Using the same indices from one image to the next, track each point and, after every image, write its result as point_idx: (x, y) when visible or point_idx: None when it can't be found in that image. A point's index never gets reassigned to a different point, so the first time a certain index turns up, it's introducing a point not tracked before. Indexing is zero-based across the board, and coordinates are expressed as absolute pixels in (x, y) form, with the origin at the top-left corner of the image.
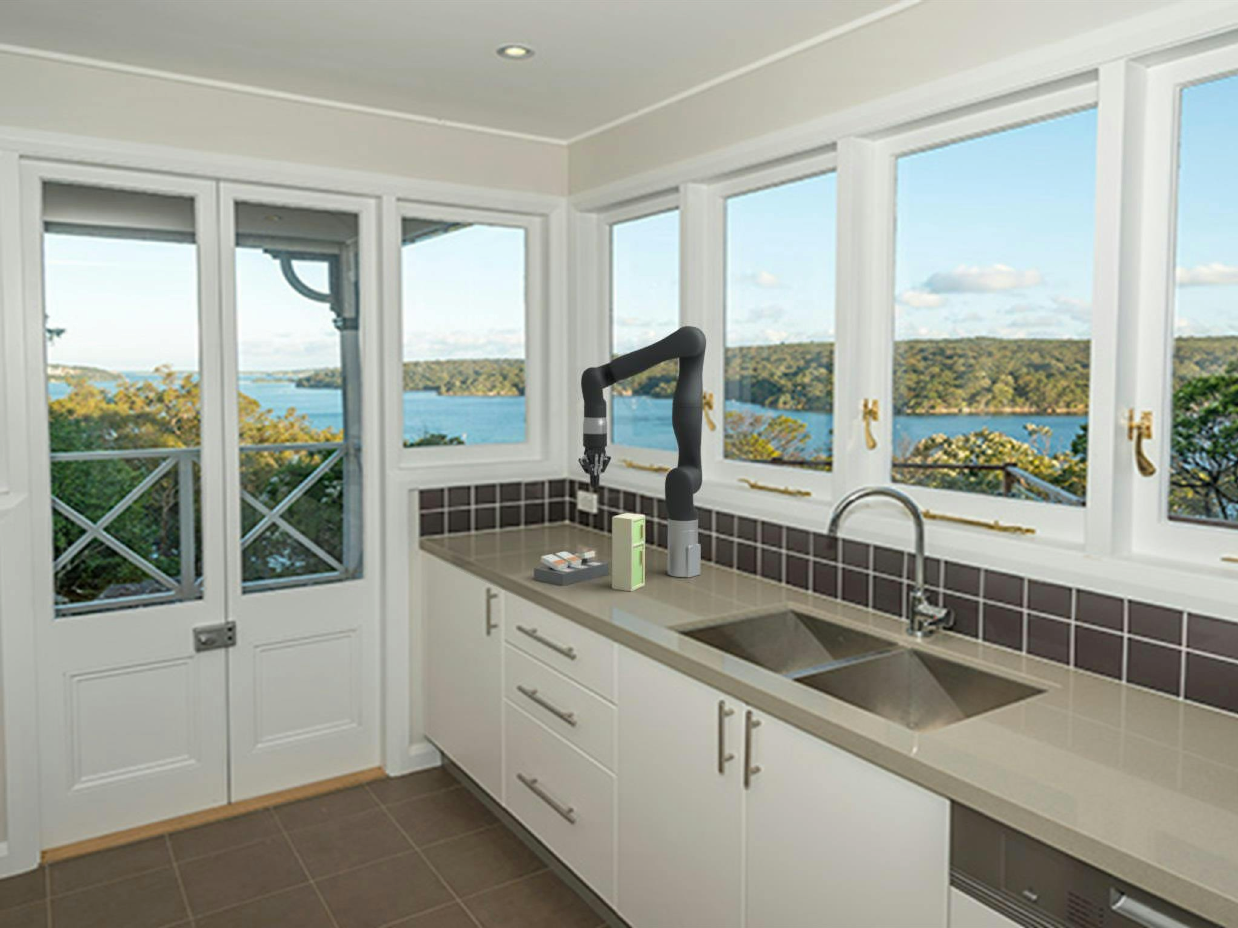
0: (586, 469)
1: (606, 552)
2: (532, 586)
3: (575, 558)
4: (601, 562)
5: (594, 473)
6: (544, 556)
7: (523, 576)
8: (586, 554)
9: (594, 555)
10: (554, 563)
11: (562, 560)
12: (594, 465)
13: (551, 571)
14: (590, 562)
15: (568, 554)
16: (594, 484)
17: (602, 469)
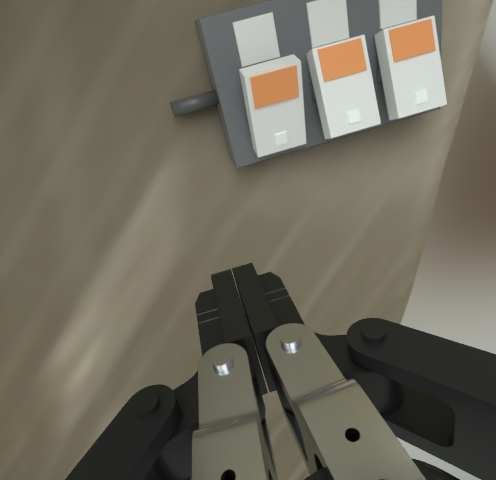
0: (405, 411)
1: (33, 320)
2: (477, 24)
3: (333, 62)
4: (216, 49)
5: (315, 337)
6: (437, 101)
7: (410, 158)
8: (288, 61)
9: (243, 68)
10: (435, 35)
11: (394, 52)
12: (376, 418)
13: (438, 25)
14: None
15: (336, 108)
16: (262, 281)
17: (166, 420)
